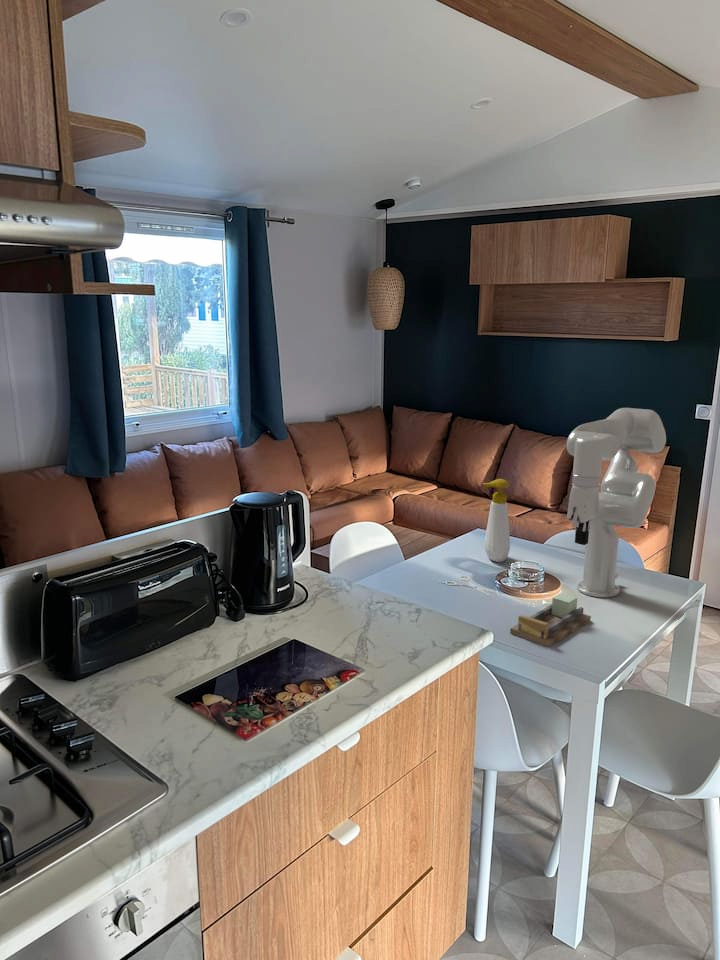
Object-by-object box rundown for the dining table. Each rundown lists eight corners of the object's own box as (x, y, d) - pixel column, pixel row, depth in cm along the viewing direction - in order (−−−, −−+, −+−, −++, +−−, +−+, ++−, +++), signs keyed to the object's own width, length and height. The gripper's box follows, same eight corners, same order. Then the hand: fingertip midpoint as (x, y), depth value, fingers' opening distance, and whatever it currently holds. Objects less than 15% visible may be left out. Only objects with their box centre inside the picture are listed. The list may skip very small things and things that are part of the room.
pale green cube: (560, 609, 214) (561, 592, 213) (576, 614, 211) (577, 597, 209) (551, 614, 210) (552, 597, 209) (567, 619, 207) (568, 602, 206)
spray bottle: (474, 553, 266) (477, 475, 260) (502, 552, 268) (506, 474, 261) (484, 566, 254) (488, 483, 247) (513, 565, 255) (518, 483, 248)
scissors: (459, 574, 245) (509, 590, 231) (459, 576, 246) (509, 592, 231) (438, 581, 238) (488, 599, 224) (438, 584, 239) (487, 601, 224)
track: (552, 609, 218) (553, 591, 217) (590, 621, 210) (591, 602, 209) (510, 633, 202) (511, 614, 200) (549, 647, 194) (551, 627, 192)
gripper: (586, 474, 215) (581, 535, 219) (560, 483, 204) (556, 546, 208) (610, 478, 210) (605, 540, 214) (586, 487, 199) (581, 552, 203)
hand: (581, 543), depth 211 cm, fingers closed
